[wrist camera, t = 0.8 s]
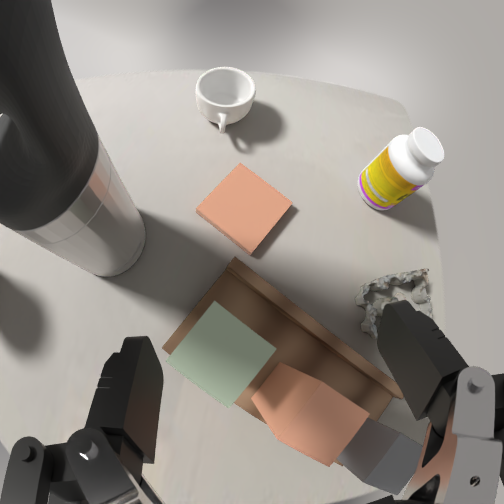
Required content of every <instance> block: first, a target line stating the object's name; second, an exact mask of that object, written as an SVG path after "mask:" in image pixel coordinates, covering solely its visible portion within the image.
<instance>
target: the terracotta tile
mask: <svg viewBox="0 0 504 504" xmlns="http://www.w3.org/2000/svg"><path fill="white" fill-rule="evenodd" d="M291 204H292V202H291V201H290V200H289V199H287V198H286V197H285V196H283V195H282V194H281V193H280V192H278V191H277V190H276V189H274V188H273V187H272V186H271V185H269V184H268V183H267V182H265V181H264V180H263V179H261V178H260V177H259V176H257V175H256V174H255V173H253V172H252V171H251V170H249V169H248V168H247V167H245V166H244V165H243V164H241V163H239V164H238V165H237V166H236V167H235V168H234V169H233V170H232V171H231V173H230V174H229V175H228V176H227V177H226V178H225V179H224V180H223V181H222V182H221V183H220V184H219V185H218V186H217V187H216V188H215V189H214V190H213V191H212V192H211V193H210V194H209V195H208V196H207V197H206V198H205V199H204V200H203V202H202V203H201V204H200V205H199V206H198V207H197V208H196V213H198V214H199V215H200V216H201V217H203V218H204V219H205V220H206V221H208V222H209V223H210V224H211V225H212V226H214V227H215V228H216V229H217V230H219V231H220V232H221V233H222V234H224V235H225V236H226V237H227V238H229V239H230V240H231V241H232V242H234V243H235V244H236V245H237V246H239V247H240V248H241V249H242V250H244V251H245V252H246V253H247V254H249V255H251V254H252V253H253V251H254V250H255V249H256V248H257V246H258V245H259V244H260V243H261V241H262V240H263V239H264V238H265V237H266V235H267V234H268V233H269V232H270V230H271V229H272V228H273V227H274V226H275V224H276V223H277V222H278V221H279V219H280V218H281V217H282V216H283V214H284V213H285V212H286V211H287V210H288V208H289V207H290V206H291Z"/></svg>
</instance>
